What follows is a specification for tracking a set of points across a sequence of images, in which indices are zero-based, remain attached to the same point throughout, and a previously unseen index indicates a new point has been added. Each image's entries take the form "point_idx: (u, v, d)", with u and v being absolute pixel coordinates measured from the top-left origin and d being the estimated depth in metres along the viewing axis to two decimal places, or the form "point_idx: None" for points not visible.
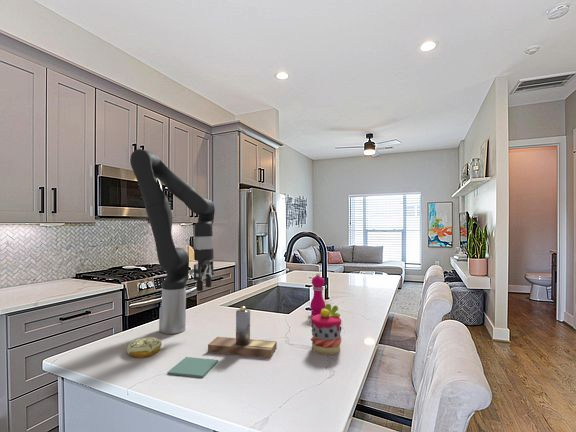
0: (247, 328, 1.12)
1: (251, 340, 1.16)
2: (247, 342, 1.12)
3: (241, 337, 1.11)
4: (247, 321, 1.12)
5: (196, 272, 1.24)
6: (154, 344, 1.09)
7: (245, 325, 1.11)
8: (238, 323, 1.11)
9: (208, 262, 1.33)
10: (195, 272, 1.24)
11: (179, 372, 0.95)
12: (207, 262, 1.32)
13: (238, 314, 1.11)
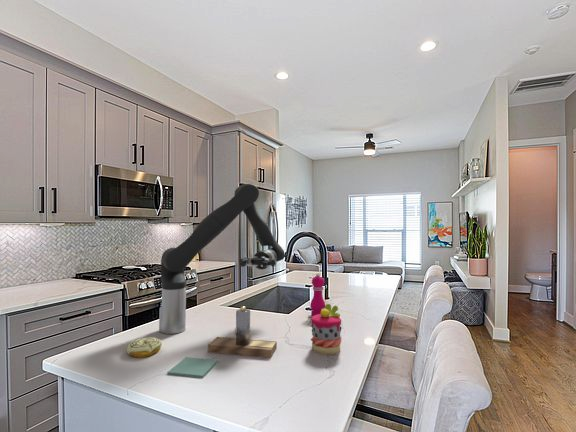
0: (247, 328, 1.12)
1: (251, 340, 1.16)
2: (247, 342, 1.12)
3: (241, 337, 1.11)
4: (247, 321, 1.12)
5: (275, 261, 1.30)
6: (154, 344, 1.09)
7: (245, 325, 1.11)
8: (238, 323, 1.11)
9: None
10: (275, 260, 1.30)
11: (179, 372, 0.95)
12: None
13: (238, 314, 1.11)
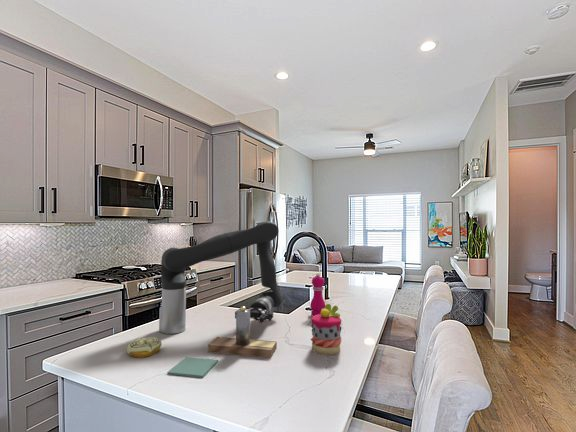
0: (247, 328, 1.12)
1: (251, 340, 1.16)
2: (247, 342, 1.12)
3: (241, 337, 1.11)
4: (247, 321, 1.12)
5: (272, 315, 1.26)
6: (154, 344, 1.09)
7: (245, 325, 1.11)
8: (238, 323, 1.11)
9: None
10: (272, 314, 1.26)
11: (179, 372, 0.95)
12: None
13: (238, 314, 1.11)
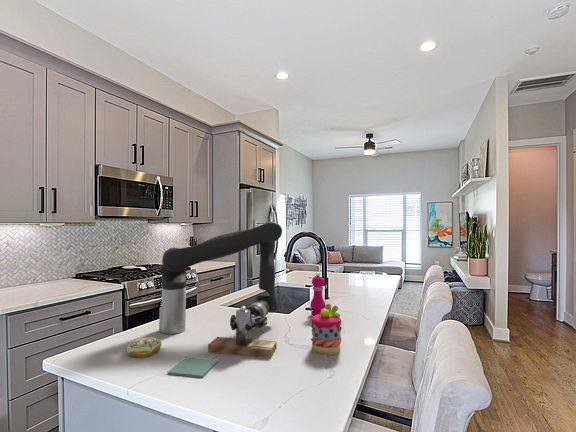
0: None
1: (251, 340, 1.16)
2: (247, 342, 1.12)
3: (241, 337, 1.11)
4: (247, 321, 1.12)
5: (263, 322, 1.16)
6: (154, 344, 1.09)
7: (245, 325, 1.11)
8: (238, 323, 1.11)
9: None
10: (263, 321, 1.16)
11: (179, 372, 0.95)
12: None
13: (238, 314, 1.11)
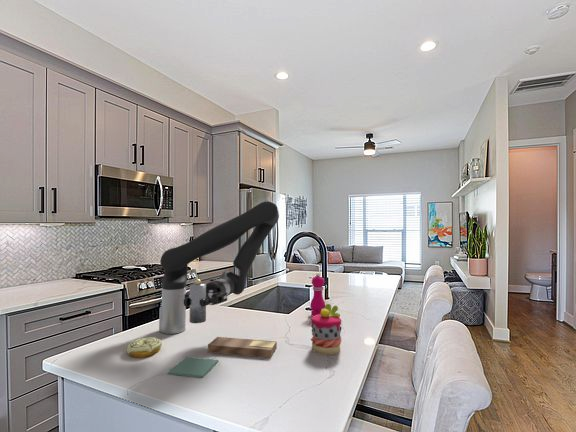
0: None
1: (251, 340, 1.16)
2: (202, 319, 0.98)
3: (195, 314, 0.97)
4: (202, 296, 0.98)
5: (222, 298, 1.03)
6: (154, 344, 1.09)
7: (199, 299, 0.98)
8: (191, 298, 0.98)
9: None
10: (222, 296, 1.03)
11: (179, 372, 0.95)
12: None
13: (191, 288, 0.98)
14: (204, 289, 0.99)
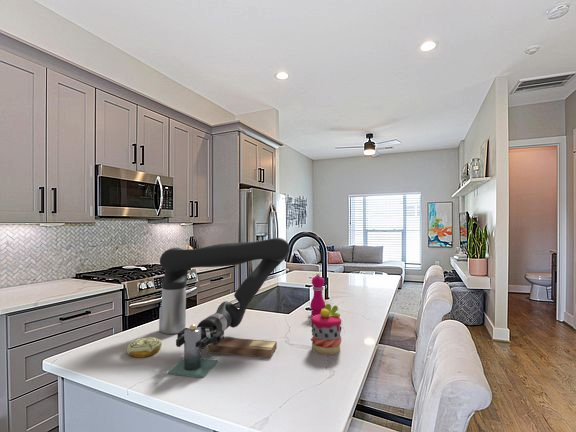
0: (196, 350, 0.97)
1: (251, 340, 1.16)
2: (196, 366, 0.97)
3: (189, 361, 0.96)
4: (196, 342, 0.97)
5: (220, 337, 1.02)
6: (154, 344, 1.09)
7: (194, 346, 0.96)
8: (186, 345, 0.96)
9: None
10: (220, 336, 1.02)
11: (179, 372, 0.95)
12: None
13: (186, 334, 0.96)
14: (199, 335, 0.98)
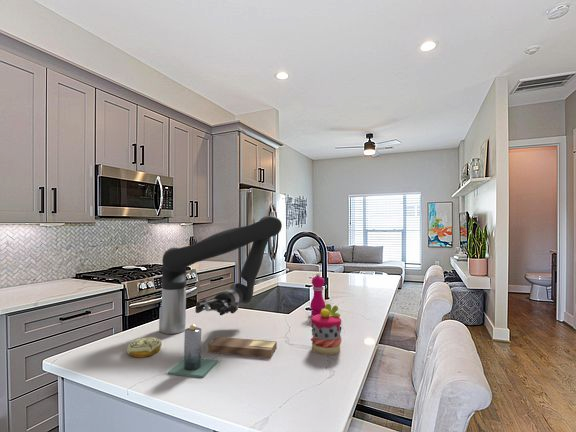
0: (197, 350, 0.97)
1: (251, 340, 1.16)
2: (196, 366, 0.97)
3: (189, 361, 0.96)
4: (197, 342, 0.97)
5: (236, 307, 1.17)
6: (154, 344, 1.09)
7: (194, 346, 0.96)
8: (186, 345, 0.96)
9: None
10: (236, 306, 1.17)
11: (179, 372, 0.95)
12: None
13: (186, 334, 0.96)
14: (199, 335, 0.98)
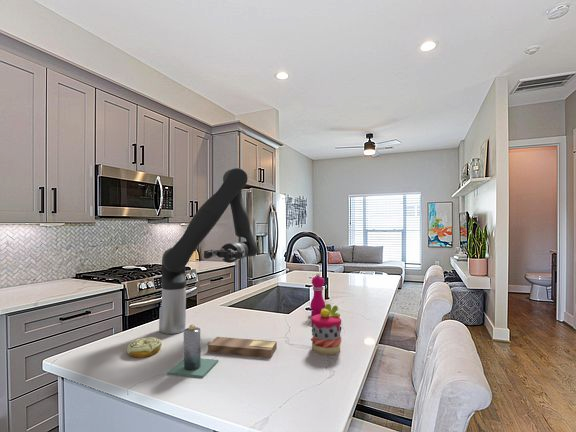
0: (196, 350, 0.97)
1: (251, 340, 1.16)
2: (197, 366, 0.97)
3: (189, 361, 0.96)
4: (196, 342, 0.97)
5: (242, 254, 1.22)
6: (154, 344, 1.09)
7: (194, 346, 0.96)
8: (185, 345, 0.96)
9: None
10: (242, 253, 1.22)
11: (179, 372, 0.95)
12: None
13: (185, 335, 0.96)
14: (198, 335, 0.98)
